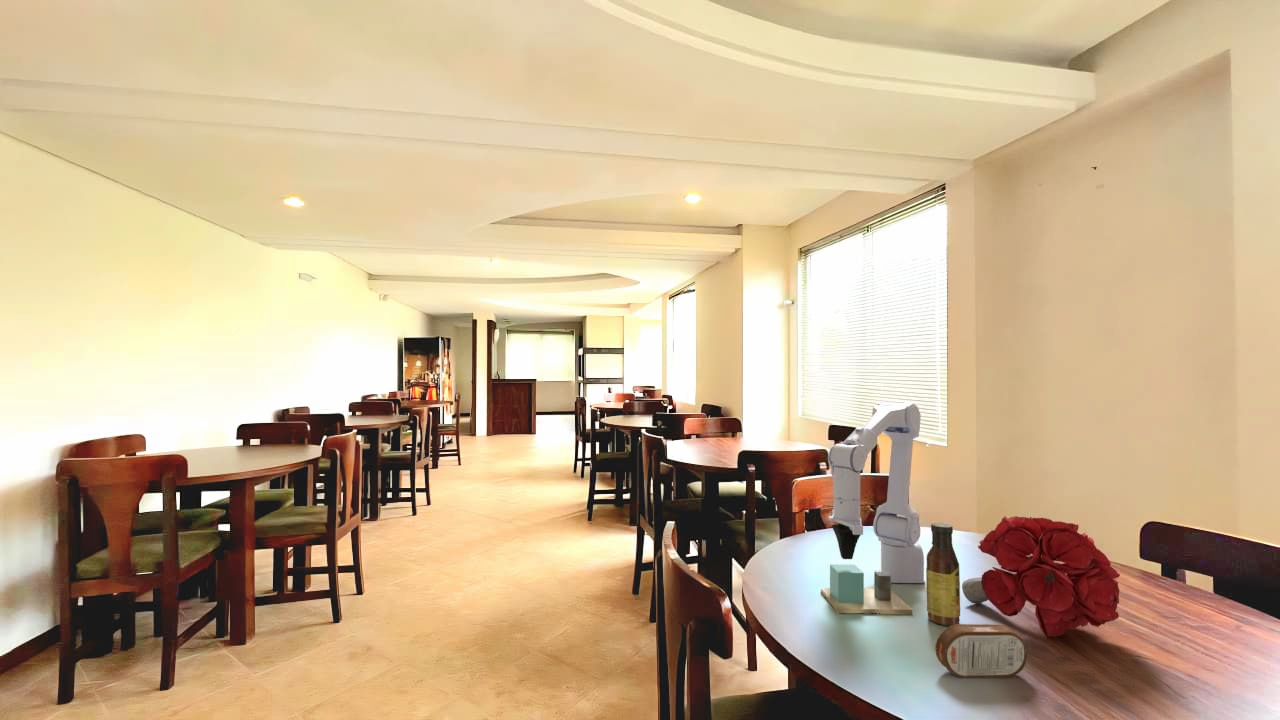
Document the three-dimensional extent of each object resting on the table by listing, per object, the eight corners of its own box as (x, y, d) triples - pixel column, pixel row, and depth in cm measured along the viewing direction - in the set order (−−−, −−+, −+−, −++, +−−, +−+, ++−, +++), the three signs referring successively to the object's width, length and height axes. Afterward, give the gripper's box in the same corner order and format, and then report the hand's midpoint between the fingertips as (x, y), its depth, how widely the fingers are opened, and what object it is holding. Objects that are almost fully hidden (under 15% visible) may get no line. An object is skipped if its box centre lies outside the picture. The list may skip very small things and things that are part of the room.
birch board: (889, 592, 138) (889, 565, 138) (912, 614, 126) (912, 583, 126) (820, 592, 138) (820, 564, 138) (837, 613, 126) (837, 583, 126)
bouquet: (956, 652, 123) (1097, 630, 100) (914, 538, 135) (1032, 495, 111) (1023, 641, 131) (1167, 618, 108) (978, 535, 143) (1100, 494, 120)
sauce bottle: (964, 628, 119) (964, 530, 119) (931, 625, 120) (931, 528, 120) (954, 615, 125) (954, 522, 125) (922, 612, 126) (922, 520, 127)
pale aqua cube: (854, 593, 135) (854, 564, 135) (863, 603, 129) (863, 573, 129) (830, 593, 135) (830, 564, 135) (838, 603, 129) (838, 572, 129)
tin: (1018, 670, 102) (1018, 622, 103) (1031, 680, 99) (1031, 629, 99) (934, 671, 102) (934, 622, 102) (944, 681, 99) (944, 630, 99)
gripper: (819, 490, 140) (819, 548, 139) (839, 505, 125) (839, 569, 125) (849, 491, 139) (849, 548, 139) (872, 505, 125) (872, 569, 125)
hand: (846, 558), depth 132 cm, fingers closed
